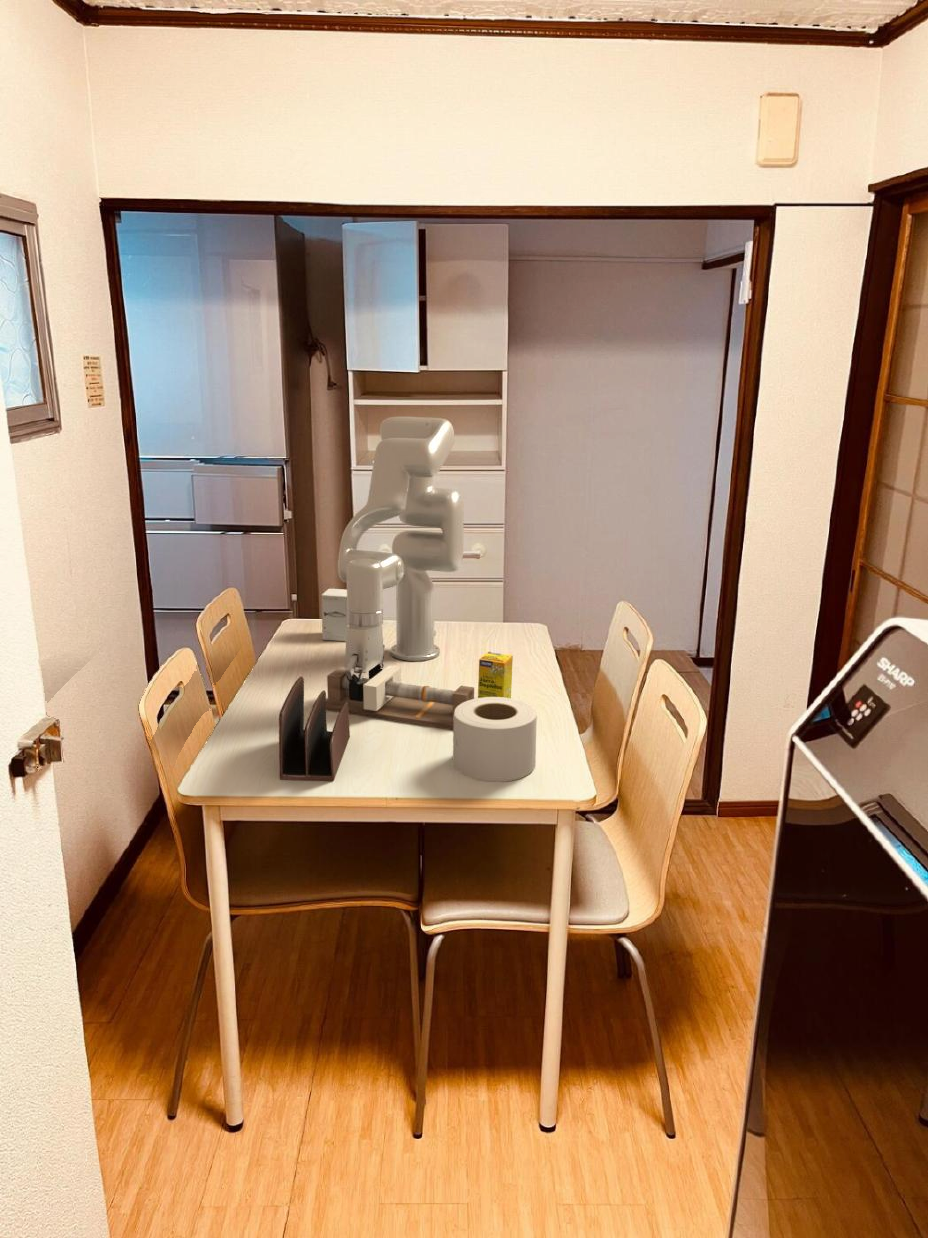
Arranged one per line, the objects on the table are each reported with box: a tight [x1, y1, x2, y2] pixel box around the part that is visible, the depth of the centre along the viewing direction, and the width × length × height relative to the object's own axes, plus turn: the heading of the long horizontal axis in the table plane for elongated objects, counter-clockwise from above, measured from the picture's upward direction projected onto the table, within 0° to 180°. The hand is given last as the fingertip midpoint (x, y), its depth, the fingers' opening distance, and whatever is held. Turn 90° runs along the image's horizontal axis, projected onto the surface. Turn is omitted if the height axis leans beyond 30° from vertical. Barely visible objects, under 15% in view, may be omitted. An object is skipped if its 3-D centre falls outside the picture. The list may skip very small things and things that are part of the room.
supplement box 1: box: [321, 588, 349, 643], centre depth 245 cm, size 7×7×13 cm
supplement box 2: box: [477, 651, 514, 699], centre depth 201 cm, size 6×6×11 cm
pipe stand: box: [326, 668, 475, 731], centre depth 198 cm, size 12×32×6 cm, turn 71°
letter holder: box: [278, 676, 351, 782], centre depth 173 cm, size 10×20×14 cm, turn 178°
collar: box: [363, 665, 402, 711], centre depth 199 cm, size 13×3×5 cm, turn 161°
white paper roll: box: [452, 697, 538, 783], centre depth 172 cm, size 16×15×11 cm
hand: (366, 692), depth 200 cm, fingers open, 9 cm apart
